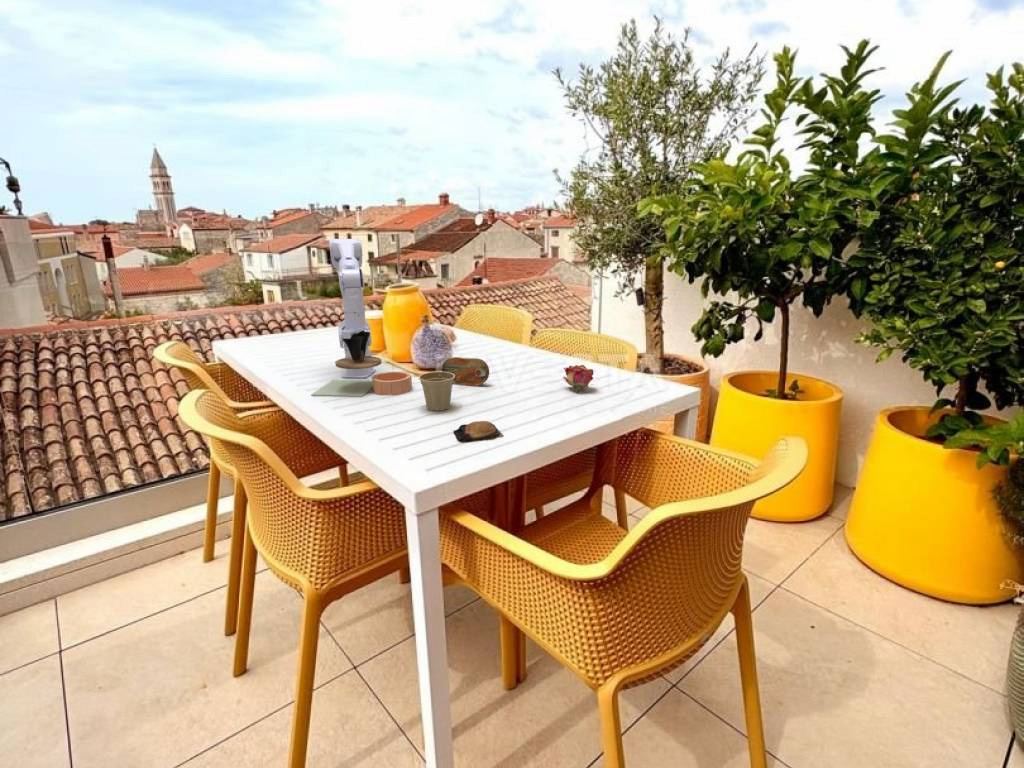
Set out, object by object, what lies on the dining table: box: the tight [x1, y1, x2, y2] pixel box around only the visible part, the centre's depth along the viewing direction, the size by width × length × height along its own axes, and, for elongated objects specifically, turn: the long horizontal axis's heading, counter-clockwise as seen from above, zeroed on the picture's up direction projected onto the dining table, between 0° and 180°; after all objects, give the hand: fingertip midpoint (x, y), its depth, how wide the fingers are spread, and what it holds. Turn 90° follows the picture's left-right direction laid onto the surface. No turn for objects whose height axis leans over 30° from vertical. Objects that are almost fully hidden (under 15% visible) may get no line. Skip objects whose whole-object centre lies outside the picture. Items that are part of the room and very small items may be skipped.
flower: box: [562, 364, 594, 394], centre depth 145 cm, size 10×9×8 cm
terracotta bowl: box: [371, 371, 413, 396], centre depth 147 cm, size 11×11×4 cm
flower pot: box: [418, 370, 455, 412], centre depth 131 cm, size 9×9×9 cm
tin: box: [441, 356, 490, 387], centre depth 151 cm, size 15×3×8 cm, turn 71°
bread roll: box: [452, 420, 505, 444], centre depth 113 cm, size 11×8×4 cm
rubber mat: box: [310, 379, 373, 398], centre depth 148 cm, size 15×15×1 cm
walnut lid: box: [334, 350, 383, 370], centre depth 145 cm, size 13×13×4 cm
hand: (358, 358), depth 145 cm, fingers closed on walnut lid, 3 cm apart
